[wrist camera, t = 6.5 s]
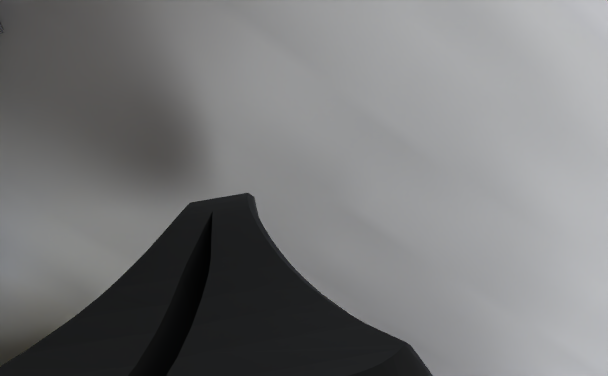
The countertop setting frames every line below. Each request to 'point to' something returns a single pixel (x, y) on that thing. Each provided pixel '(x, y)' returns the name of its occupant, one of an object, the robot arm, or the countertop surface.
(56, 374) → the robot arm
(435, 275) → the countertop surface
